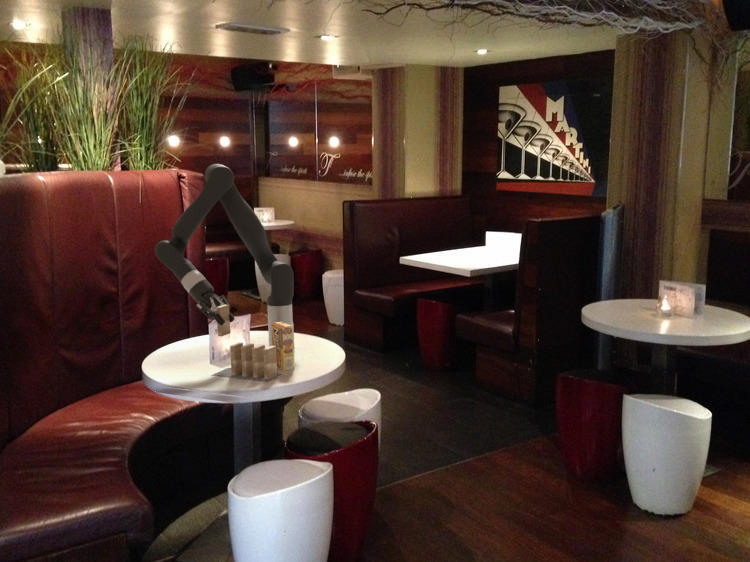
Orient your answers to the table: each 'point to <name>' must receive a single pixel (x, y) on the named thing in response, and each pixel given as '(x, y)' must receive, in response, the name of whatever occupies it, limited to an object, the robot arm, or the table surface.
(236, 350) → the domino
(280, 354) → the candy box
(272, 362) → the domino
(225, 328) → the domino
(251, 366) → the domino
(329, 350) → the table surface
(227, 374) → the mat
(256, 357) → the domino
